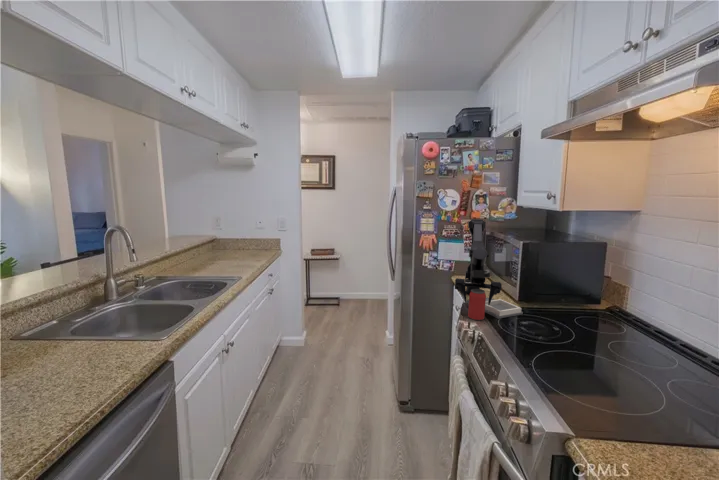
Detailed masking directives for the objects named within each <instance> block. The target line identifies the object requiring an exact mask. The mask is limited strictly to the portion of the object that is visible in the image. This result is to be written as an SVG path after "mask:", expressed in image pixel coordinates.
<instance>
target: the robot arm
mask: <svg viewBox="0 0 719 480" xmlns="http://www.w3.org/2000/svg"><path fill="white" fill-rule="evenodd" d="M486 224H487V223H486V221H484V219H477V218H476V219H475V218H471V219H470V220H468V222H467V228H468V232H469V234H470V236H471V245H470V249H468V258H469V259H470V263H469V265H468V266H467V267H466V271H465V272H464V273H465V274H464V278H455V280H454V289H455V290H457V292H460V294H461V296H462V299H463V300H464V301H463V302H464V303H465V304H467V303H466V302H467V295H470V292H471V290H472V289H488V290H489V293H488V298H489V300H488V305H490V302H491V299H494V298H493V297H494V296H497V294H501V291H502V288H503V287H502V285H503V284H502V283H501V281H494V280H493V281H491V282H490V283H486V278H488V279H489V278H490V276H491V269H485V264H486V261H487V259H488V258H489V253H488V251H487V250H486V245H485V244H484V243H483V232H484V230H485V229H486Z"/></svg>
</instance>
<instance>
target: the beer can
mask: <svg viewBox="0 0 719 480" xmlns="http://www.w3.org/2000/svg"><path fill="white" fill-rule="evenodd" d="M468 295H469V294H468ZM486 298H487V296H486V291H485V289H482V288H480V289H472V290H471V292H470V295H469V297H468V300H469V304H468V310H467V316H468V318H469V319H471V320H474V321H482V320H484V319H485V314H486V312H485V303H486Z"/></svg>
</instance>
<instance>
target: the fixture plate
mask: <svg viewBox="0 0 719 480" xmlns="http://www.w3.org/2000/svg"><path fill="white" fill-rule="evenodd" d="M488 300H489V297H486V303H485V314H488V315H489V316H491V317H493V318H495V319H498V320H499V319H503V318H508V317H509V318H510V317H515V316H521V315H523V313H524V312H523V311H522V307H520V306H517V305H516V304H514V303H510V302H508V301H506V300H505V299H502V298H499V299H494V298H492V299H491V302H490V305H488ZM465 304H468V305H469V299H468V300H466V303H465Z"/></svg>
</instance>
